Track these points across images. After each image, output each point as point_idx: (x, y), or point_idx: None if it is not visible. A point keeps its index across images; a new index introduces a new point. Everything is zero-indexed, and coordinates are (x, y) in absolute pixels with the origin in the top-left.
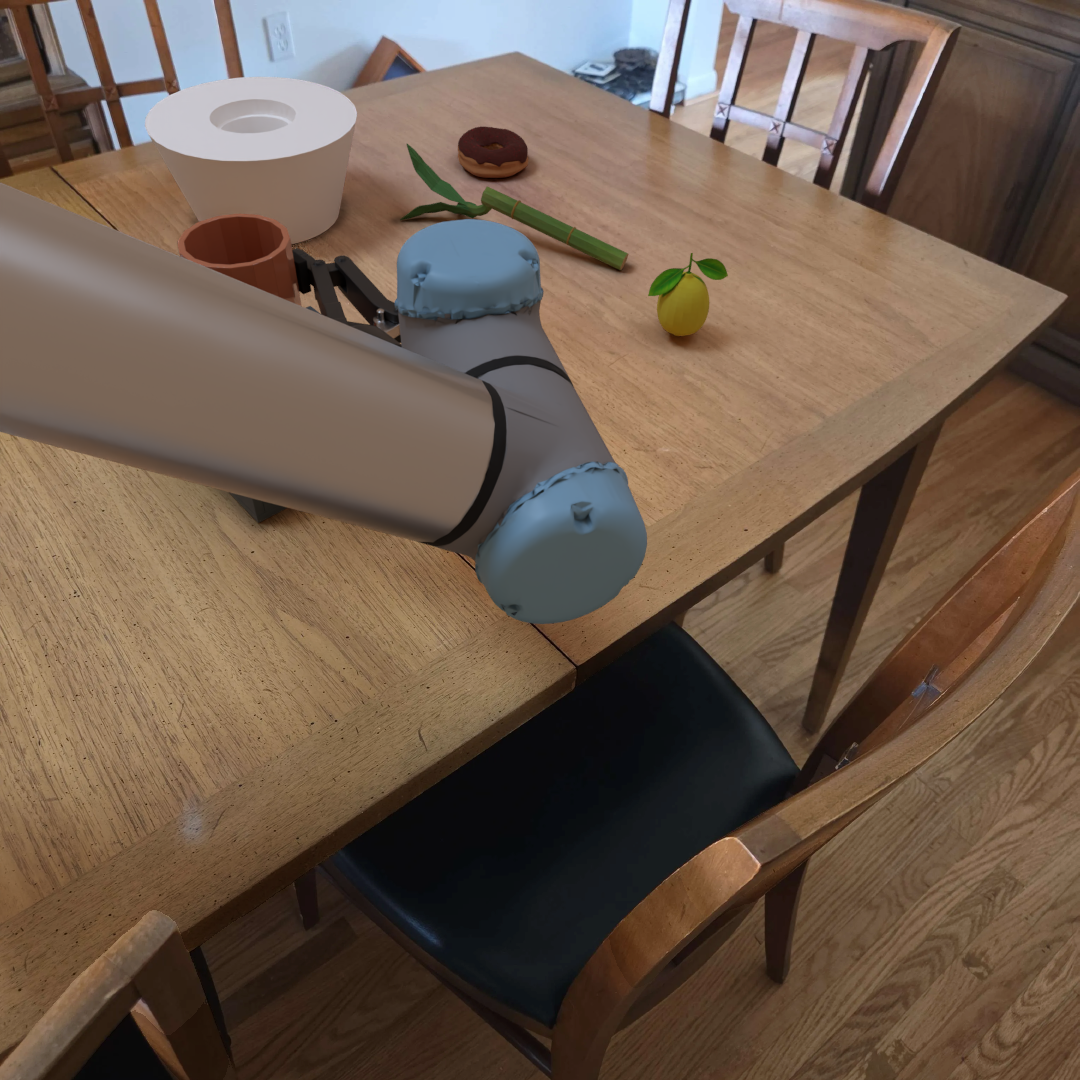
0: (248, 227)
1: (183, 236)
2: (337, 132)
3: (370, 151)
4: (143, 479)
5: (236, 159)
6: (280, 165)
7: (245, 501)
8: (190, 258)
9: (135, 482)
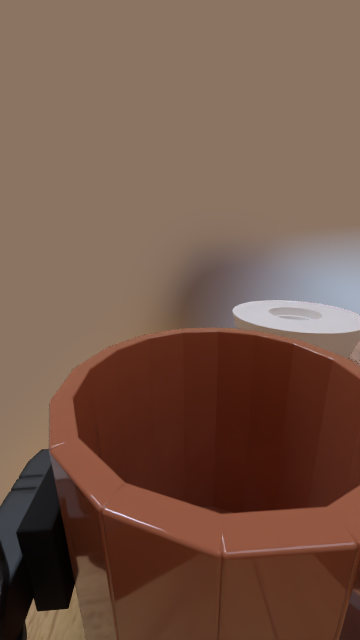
0: (271, 361)
1: (128, 341)
2: (354, 327)
3: (356, 351)
4: (45, 622)
5: (277, 328)
6: (307, 338)
7: None
8: (62, 393)
9: (35, 621)
